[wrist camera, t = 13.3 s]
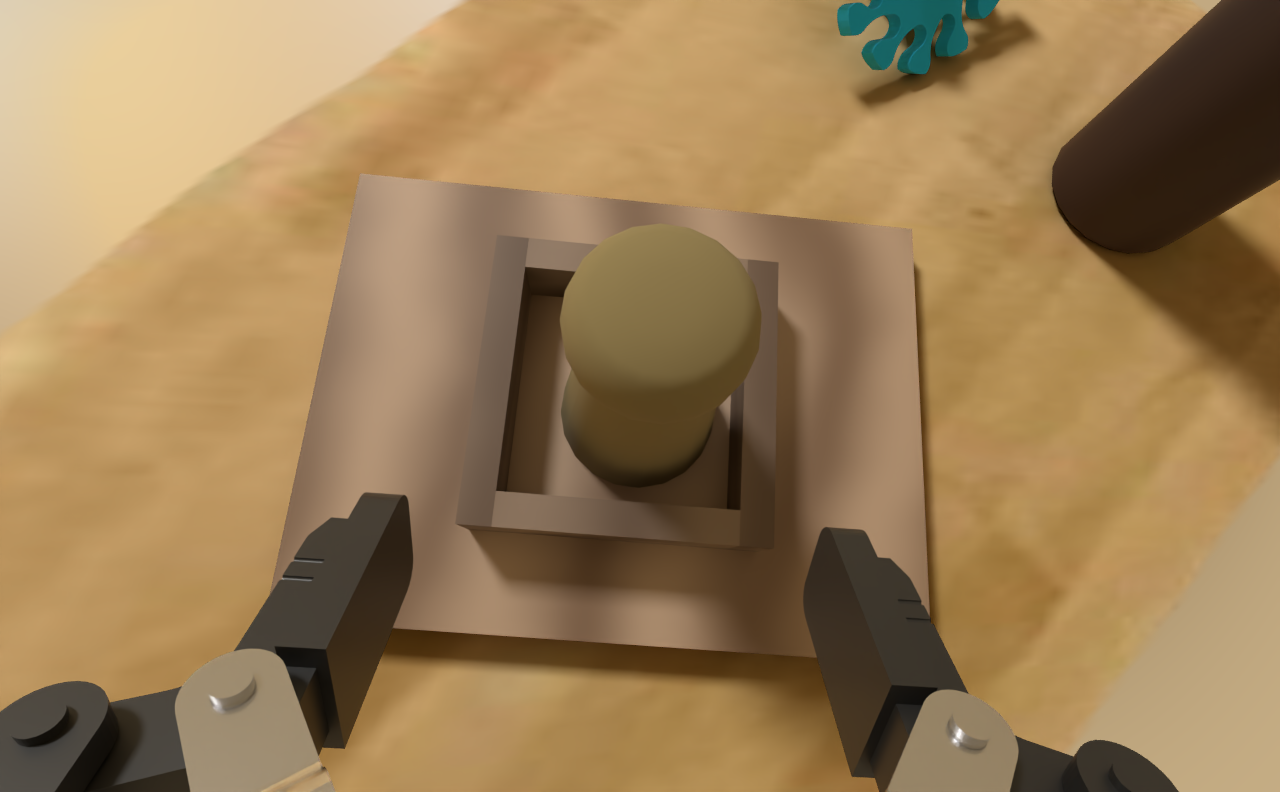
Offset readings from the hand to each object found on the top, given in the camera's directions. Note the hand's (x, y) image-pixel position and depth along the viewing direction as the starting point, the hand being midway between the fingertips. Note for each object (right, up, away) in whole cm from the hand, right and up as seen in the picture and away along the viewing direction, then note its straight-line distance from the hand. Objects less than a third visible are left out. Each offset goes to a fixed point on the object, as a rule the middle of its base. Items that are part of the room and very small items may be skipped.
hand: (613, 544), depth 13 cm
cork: (0, +2, +13) cm, 14 cm away
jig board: (0, +2, +15) cm, 15 cm away
